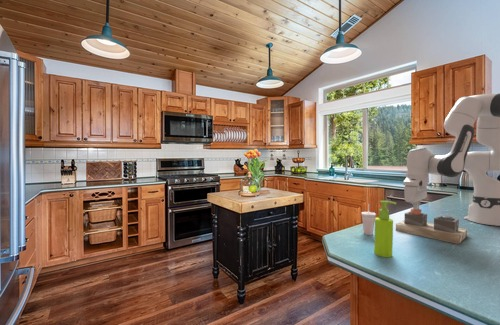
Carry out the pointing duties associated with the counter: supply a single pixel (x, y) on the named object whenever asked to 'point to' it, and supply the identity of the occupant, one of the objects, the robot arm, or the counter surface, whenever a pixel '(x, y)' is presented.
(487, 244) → the counter surface
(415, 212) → the terracotta button
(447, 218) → the grey cube
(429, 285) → the counter surface
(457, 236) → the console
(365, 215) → the smoothie
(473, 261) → the counter surface
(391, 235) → the soap dispenser
